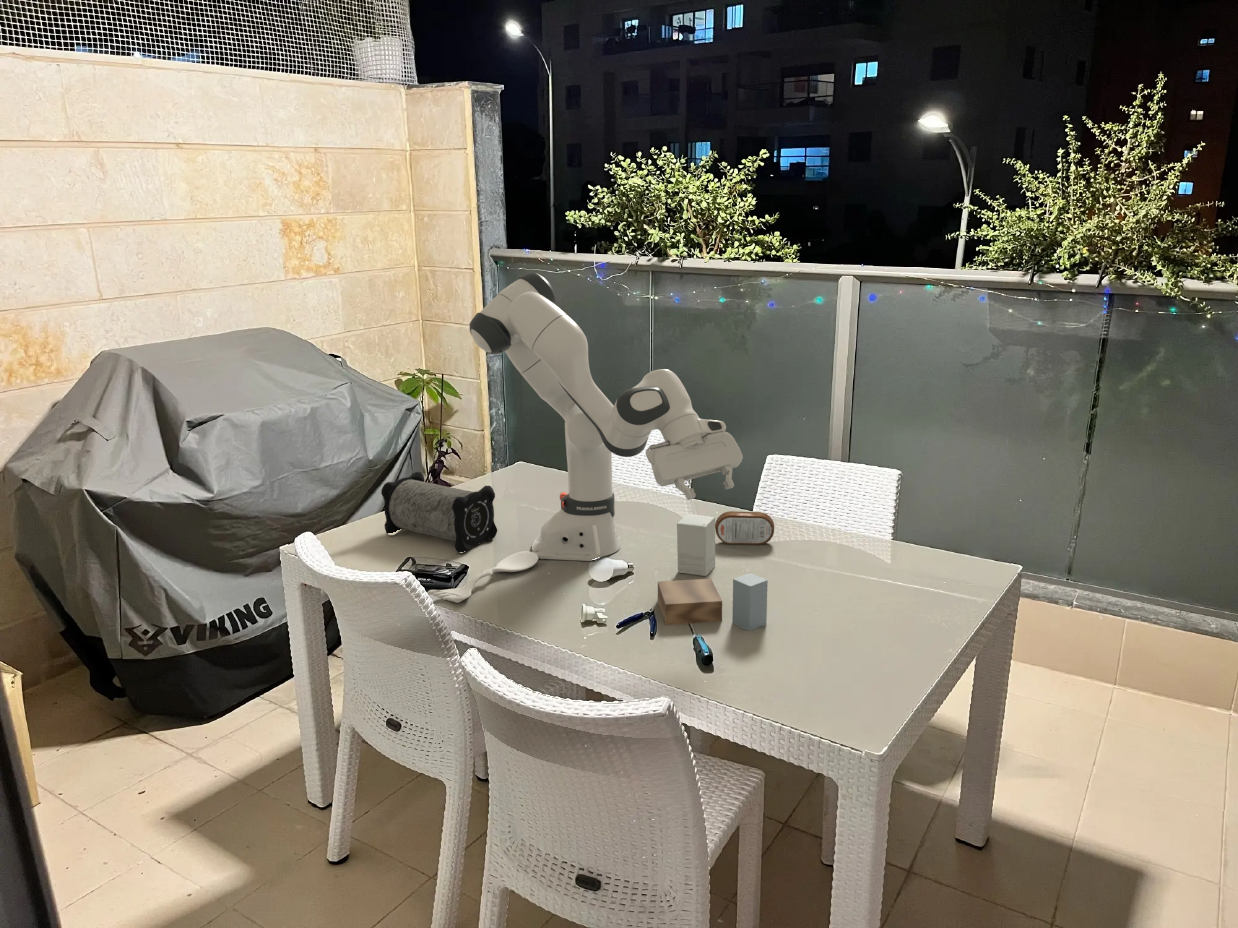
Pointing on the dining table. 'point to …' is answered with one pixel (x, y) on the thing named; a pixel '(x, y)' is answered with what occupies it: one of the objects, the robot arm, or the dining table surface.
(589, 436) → the robot arm
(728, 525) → the tin
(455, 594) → the spoon
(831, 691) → the dining table surface
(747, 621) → the slate block
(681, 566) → the supplement box
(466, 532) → the speaker
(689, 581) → the walnut block
